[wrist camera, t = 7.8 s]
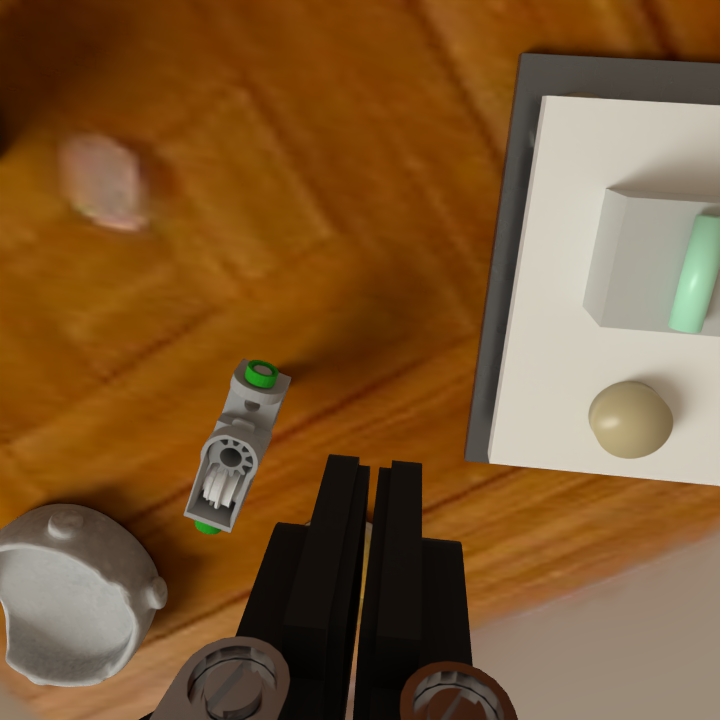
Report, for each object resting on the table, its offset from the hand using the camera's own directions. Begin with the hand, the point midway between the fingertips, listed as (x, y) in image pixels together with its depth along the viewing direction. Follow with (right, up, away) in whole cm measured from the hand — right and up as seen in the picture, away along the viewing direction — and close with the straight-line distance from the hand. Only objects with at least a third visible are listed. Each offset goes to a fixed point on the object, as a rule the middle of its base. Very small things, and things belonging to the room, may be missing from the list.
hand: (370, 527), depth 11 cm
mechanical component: (-6, +2, +30) cm, 30 cm away
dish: (-22, -13, +38) cm, 45 cm away
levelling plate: (+15, +6, +22) cm, 27 cm away
